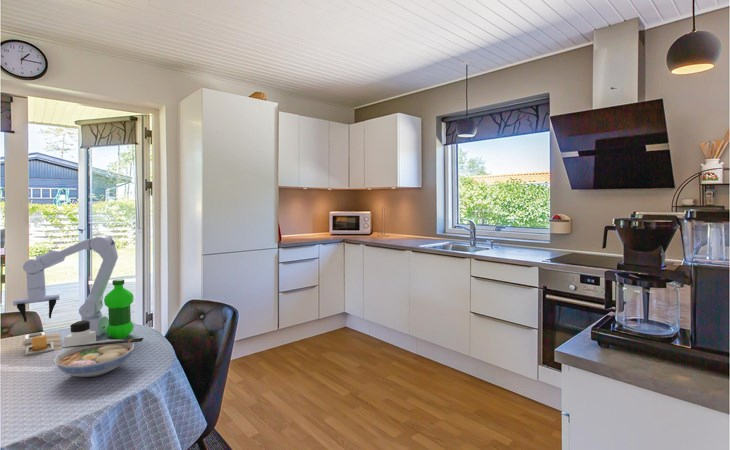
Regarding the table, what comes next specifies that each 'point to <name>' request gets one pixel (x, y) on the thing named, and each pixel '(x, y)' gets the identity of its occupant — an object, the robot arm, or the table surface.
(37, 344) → the cap
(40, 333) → the button
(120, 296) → the plastic bottle
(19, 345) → the table surface
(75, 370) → the ramen bowl
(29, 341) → the frame
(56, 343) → the tan flat plate
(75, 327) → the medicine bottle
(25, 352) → the grey square frame
